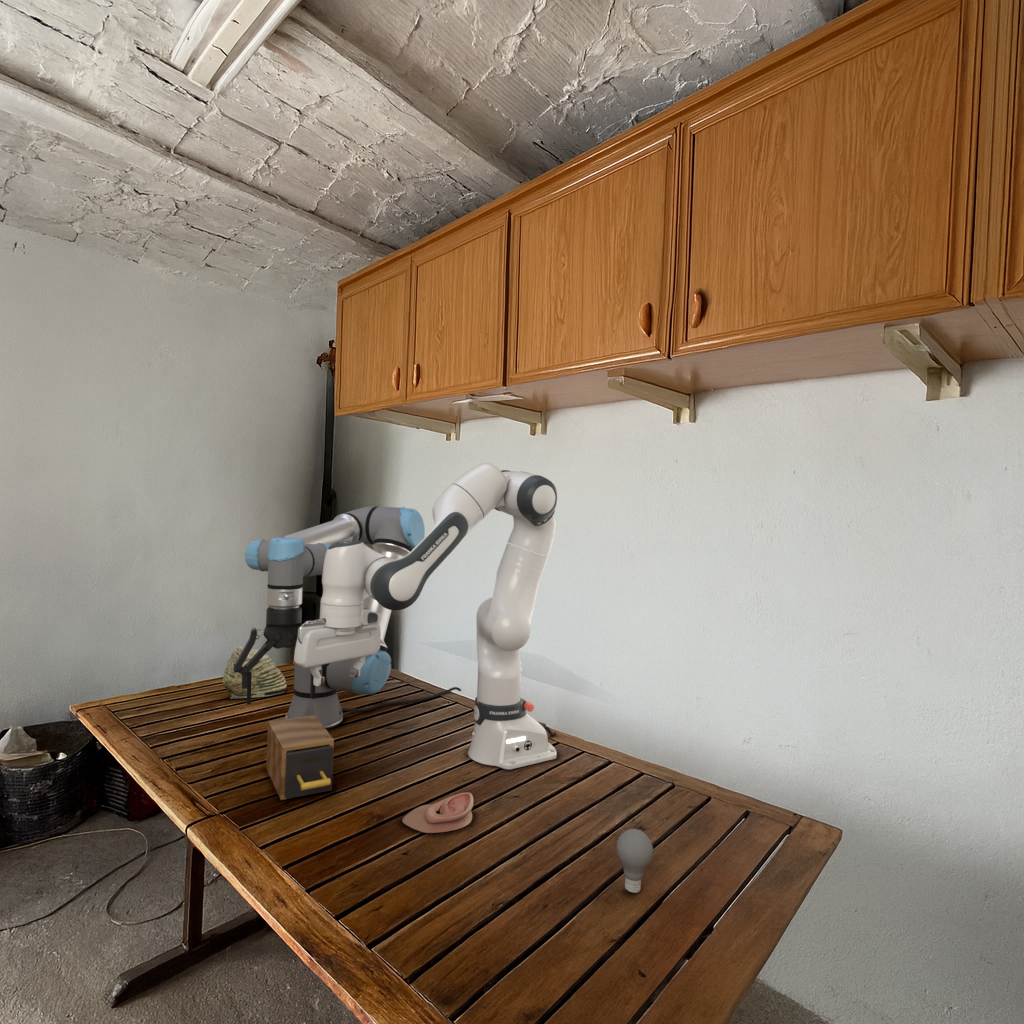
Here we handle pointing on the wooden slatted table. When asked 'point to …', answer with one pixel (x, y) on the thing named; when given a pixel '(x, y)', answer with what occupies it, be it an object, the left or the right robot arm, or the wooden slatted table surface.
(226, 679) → the fossil
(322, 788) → the drawer
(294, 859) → the wooden slatted table surface
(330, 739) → the cabinet
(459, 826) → the anatomical model
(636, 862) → the light bulb
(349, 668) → the left robot arm
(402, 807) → the wooden slatted table surface
